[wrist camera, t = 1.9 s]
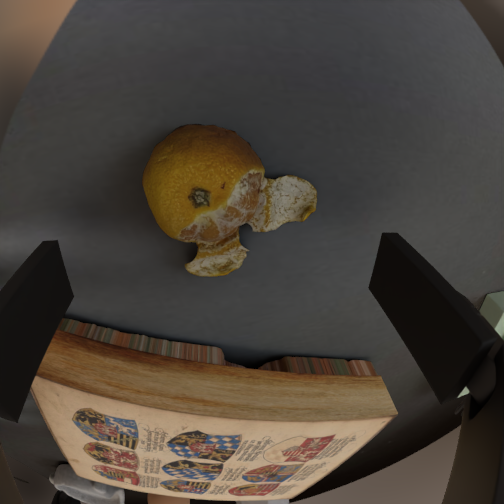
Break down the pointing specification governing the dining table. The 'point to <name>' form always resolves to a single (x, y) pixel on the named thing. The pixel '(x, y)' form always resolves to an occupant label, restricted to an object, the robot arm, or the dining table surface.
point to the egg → (166, 499)
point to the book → (202, 415)
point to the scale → (492, 316)
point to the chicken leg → (265, 502)
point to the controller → (64, 498)
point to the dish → (85, 487)
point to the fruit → (218, 194)
